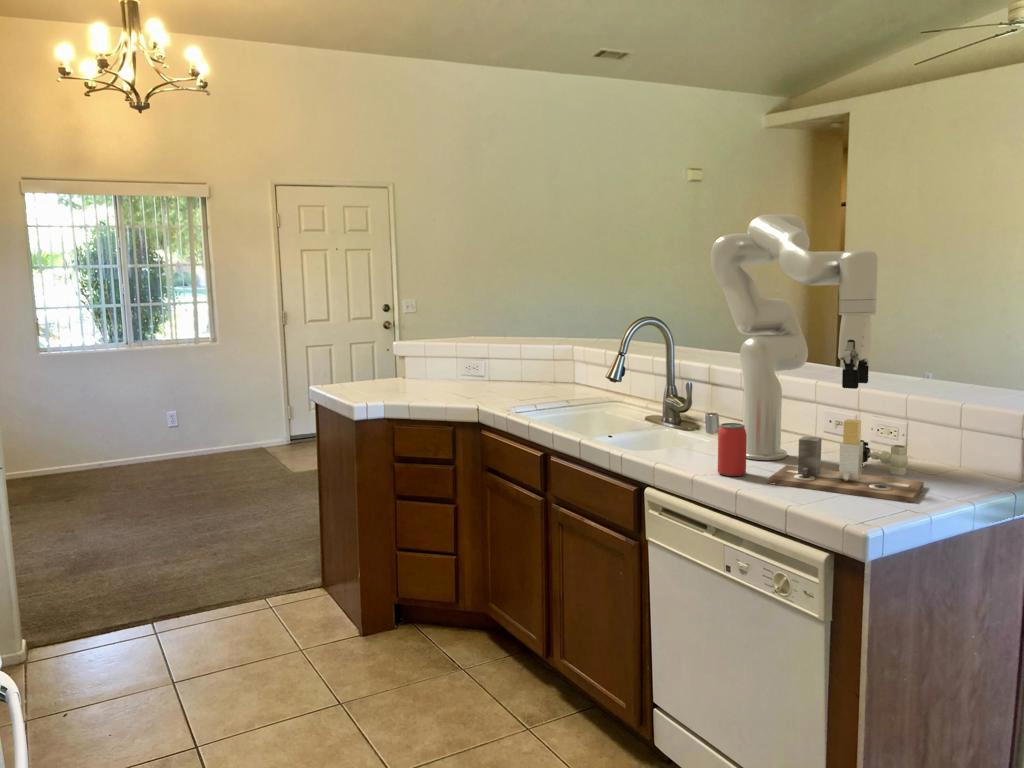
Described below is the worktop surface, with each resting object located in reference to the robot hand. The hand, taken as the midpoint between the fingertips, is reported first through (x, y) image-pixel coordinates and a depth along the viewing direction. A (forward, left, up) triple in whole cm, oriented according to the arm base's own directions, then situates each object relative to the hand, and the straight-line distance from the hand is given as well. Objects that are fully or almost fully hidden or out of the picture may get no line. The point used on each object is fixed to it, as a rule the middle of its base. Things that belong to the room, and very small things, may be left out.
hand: (855, 385), depth 175 cm
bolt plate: (-1, -1, -23) cm, 23 cm away
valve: (+3, +18, -23) cm, 29 cm away
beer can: (-26, -4, -23) cm, 35 cm away
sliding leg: (0, -1, -21) cm, 21 cm away
